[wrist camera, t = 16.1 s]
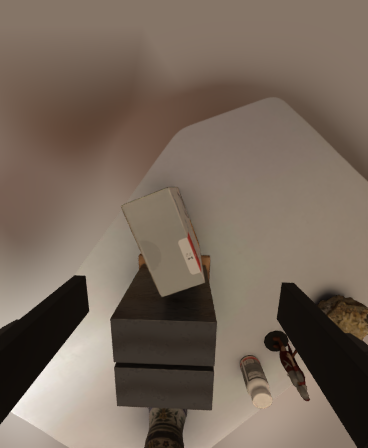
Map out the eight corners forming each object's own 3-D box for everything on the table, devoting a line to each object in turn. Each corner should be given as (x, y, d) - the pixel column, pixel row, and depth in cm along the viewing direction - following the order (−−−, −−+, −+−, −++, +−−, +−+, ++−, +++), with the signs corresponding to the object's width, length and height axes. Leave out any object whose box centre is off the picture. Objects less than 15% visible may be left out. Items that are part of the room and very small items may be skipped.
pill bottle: (253, 373, 56) (267, 413, 46) (236, 367, 56) (246, 405, 46) (262, 359, 55) (278, 396, 45) (245, 352, 54) (257, 388, 45)
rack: (139, 253, 49) (102, 306, 28) (209, 255, 48) (224, 310, 27) (142, 323, 53) (112, 414, 32) (206, 326, 53) (217, 419, 32)
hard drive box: (199, 243, 48) (206, 285, 28) (171, 253, 49) (159, 300, 29) (177, 185, 45) (168, 186, 26) (148, 196, 46) (117, 206, 26)
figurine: (263, 331, 53) (291, 389, 38) (289, 329, 52) (328, 386, 38) (264, 351, 54) (292, 414, 39) (290, 349, 54) (328, 411, 39)
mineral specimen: (320, 343, 53) (349, 379, 43) (289, 316, 51) (312, 346, 42) (363, 310, 50) (404, 340, 41) (331, 280, 49) (367, 304, 39)
